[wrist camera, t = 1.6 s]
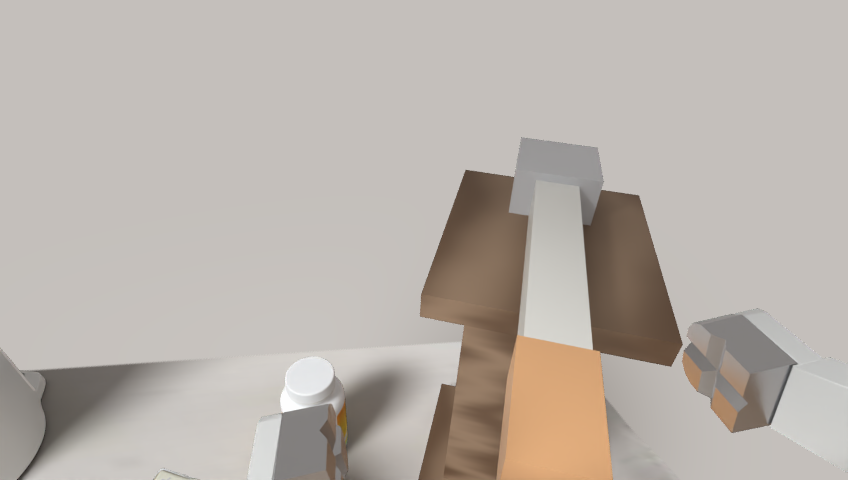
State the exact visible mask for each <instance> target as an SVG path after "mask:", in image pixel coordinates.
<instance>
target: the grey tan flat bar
mask: <svg viewBox="0 0 848 480" xmlns="http://www.w3.org/2000/svg"><path fill="white" fill-rule="evenodd" d="M603 182H604V181H603V175H602V170H601V164H600V159H599V153H598V148H595V147H589V146H581V145H573V144H566V143H559V142H551V141H544V140H537V139H529V138H521V142H520V148H519V154H518V159H517V165H516V170H515V176H514V182H513V188H512V194H511V200H510V207H509V213H515V214H521V215H528V216H529V217H528V228H527V238H526V249H525V260H524V271H523V281H522V292H521V303H520V313H519V324H518V335H517V338H516V342H515V346H514V351H513V355H512V359H511V364H510V368H509V372H508V377H507V384H506V393H505V403H504V412H503V421H502V431H501V440H500V449H499V459H498V468H497V477H496V480H613V476H612V466H611V456H610V446H609V436H608V426H607V416H606V406H605V396H604V386H603V376H602V366H601V356H600V351H595V350H593V344H592V332H591V320H590V308H589V296H588V284H587V273H586V261H585V249H584V237H583V225H582V224H584V225H590V226H591V222H592V219H593V216H594V212H595V209H596V206H597V202H598V199H599V196H600V192H601V189H602V186H603Z"/></svg>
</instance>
